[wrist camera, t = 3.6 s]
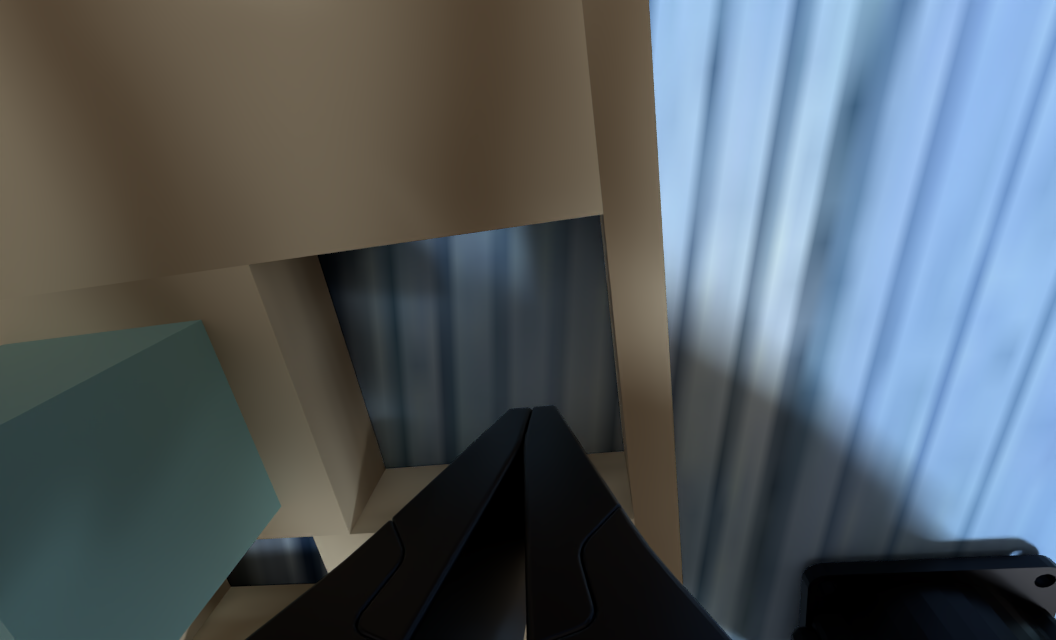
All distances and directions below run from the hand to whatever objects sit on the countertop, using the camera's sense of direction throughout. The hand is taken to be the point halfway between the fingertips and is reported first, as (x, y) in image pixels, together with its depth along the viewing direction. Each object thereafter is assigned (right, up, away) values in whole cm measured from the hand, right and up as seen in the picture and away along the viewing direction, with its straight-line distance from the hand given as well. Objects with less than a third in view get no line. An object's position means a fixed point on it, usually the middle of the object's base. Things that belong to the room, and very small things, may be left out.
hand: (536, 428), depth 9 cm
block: (-9, -1, +3) cm, 10 cm away
